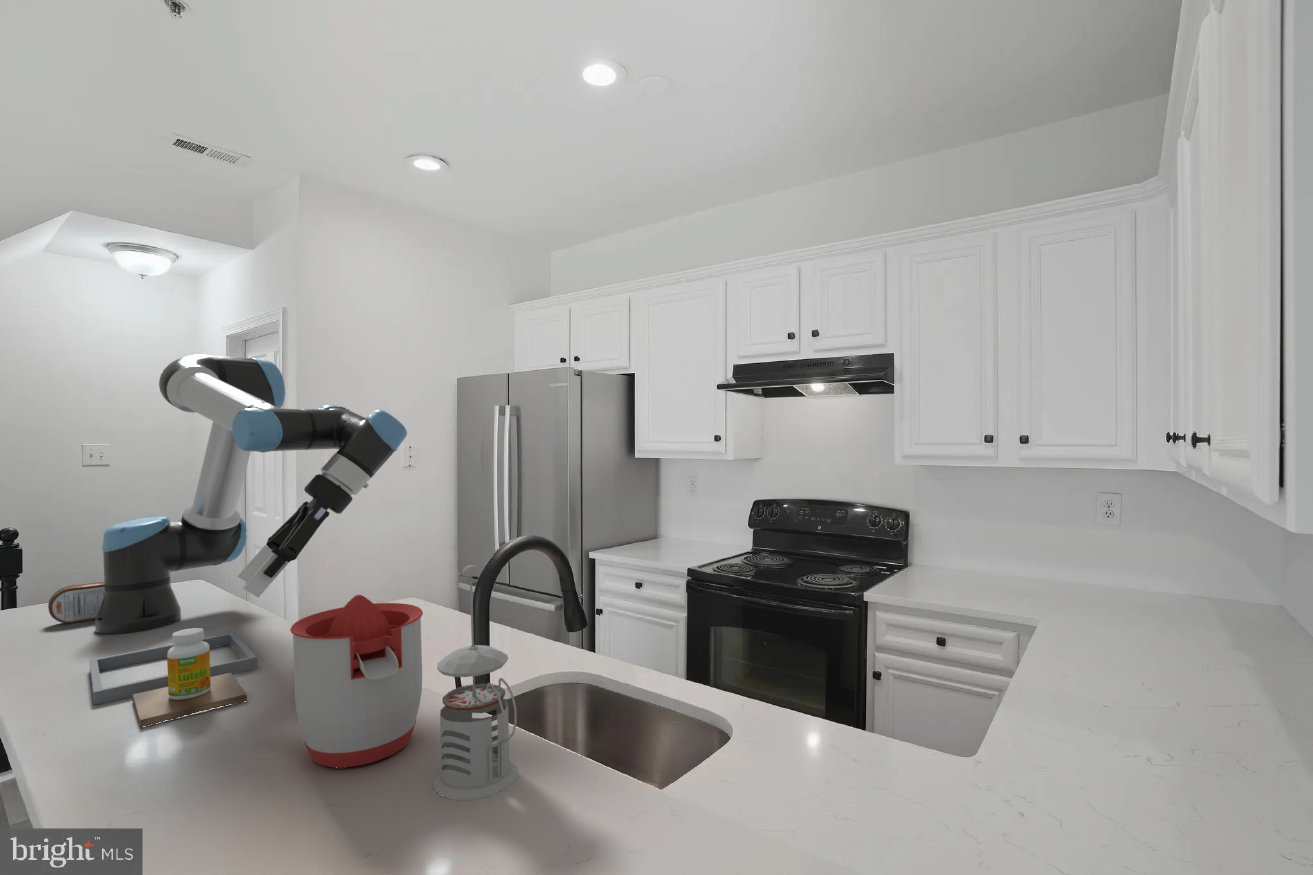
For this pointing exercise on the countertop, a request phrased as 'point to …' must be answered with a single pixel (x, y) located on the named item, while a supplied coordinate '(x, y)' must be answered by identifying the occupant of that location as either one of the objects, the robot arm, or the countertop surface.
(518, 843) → the countertop surface
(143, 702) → the walnut board
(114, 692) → the tray frame
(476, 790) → the french press
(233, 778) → the countertop surface
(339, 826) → the countertop surface
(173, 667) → the supplement bottle
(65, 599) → the tin
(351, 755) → the citrus juicer
